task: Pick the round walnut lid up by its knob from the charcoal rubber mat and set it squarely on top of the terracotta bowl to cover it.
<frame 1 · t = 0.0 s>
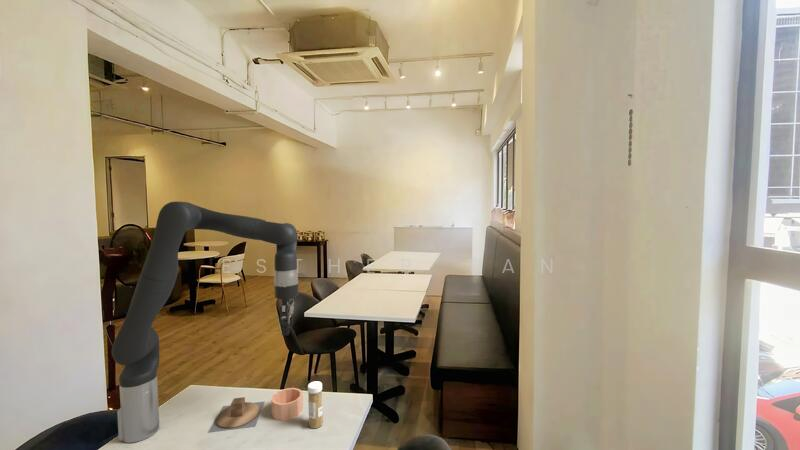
hand: (287, 330, 110), 29 cm above the table, tool pointing down, fingers open, 8 cm apart
sprinkles bottle: (315, 425, 106), on the table
charcoal mat: (238, 417, 110), on the table
walnut lid: (238, 415, 110), point 1 cm above the table, touching charcoal mat
terracotta bowl: (287, 412, 113), on the table
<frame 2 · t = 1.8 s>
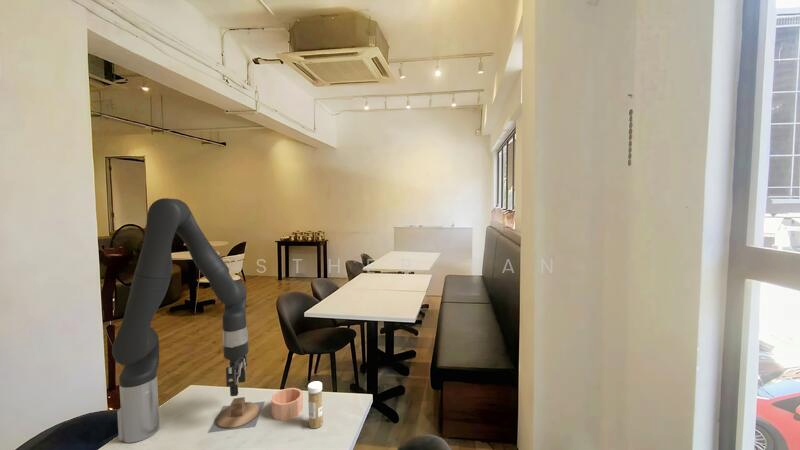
hand: (238, 388, 110), 10 cm above the table, tool pointing down, fingers open, 8 cm apart
nothing on the table moved.
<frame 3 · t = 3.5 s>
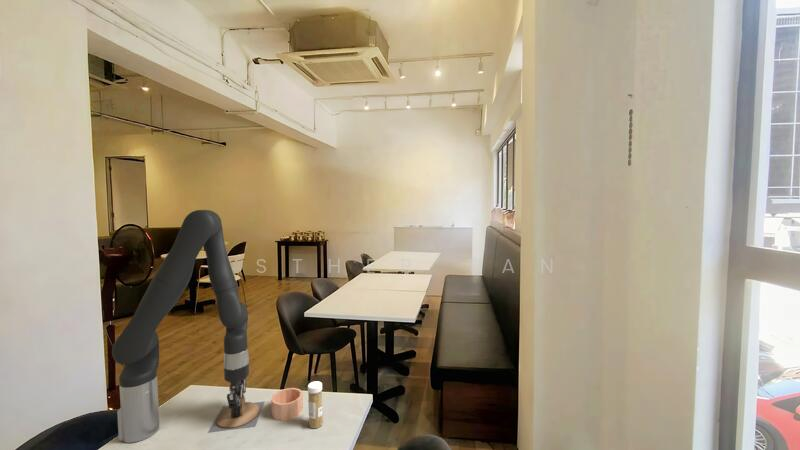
hand: (238, 412, 110), 2 cm above the table, tool pointing down, fingers closed on walnut lid, 3 cm apart
walnut lid: (238, 415, 110), point 1 cm above the table, touching charcoal mat, gripper
everything else where it was.
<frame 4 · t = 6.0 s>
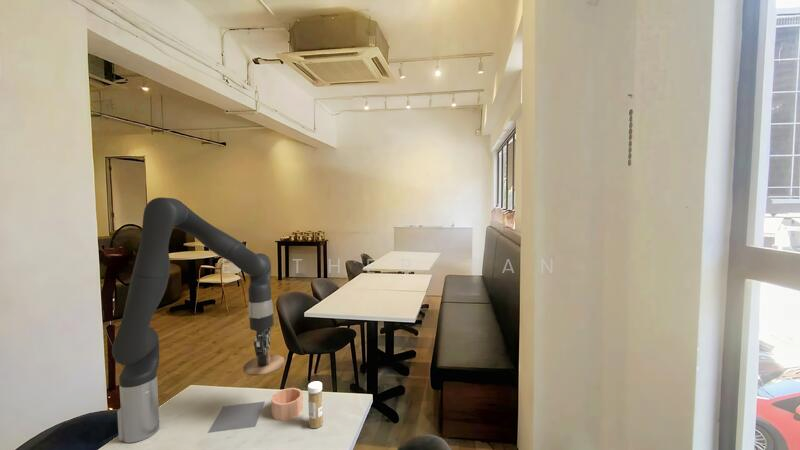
hand: (264, 362, 111), 18 cm above the table, tool pointing down, fingers closed on walnut lid, 3 cm apart
walnut lid: (264, 365, 111), point 17 cm above the table, touching gripper
everything else where it was.
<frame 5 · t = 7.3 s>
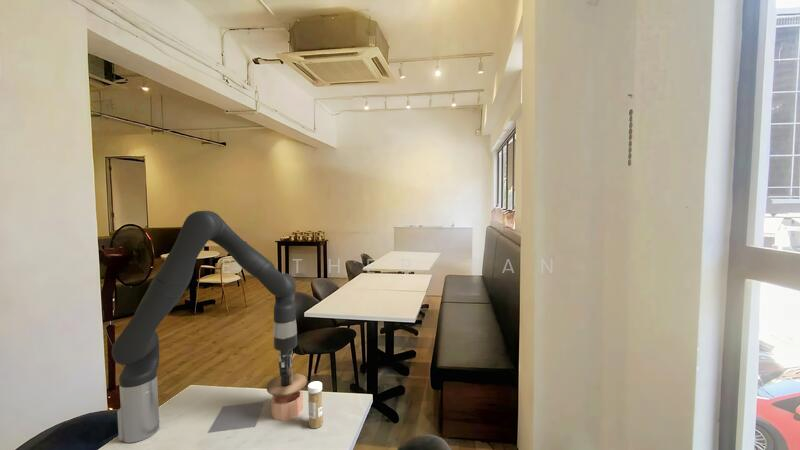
hand: (286, 382, 112), 11 cm above the table, tool pointing down, fingers closed on walnut lid, 3 cm apart
walnut lid: (287, 385, 113), point 10 cm above the table, touching gripper
everything else where it was.
when the fingers open (8 cm above the table, at t = 8.4 s): walnut lid drops 1 cm, point 6 cm above the table.
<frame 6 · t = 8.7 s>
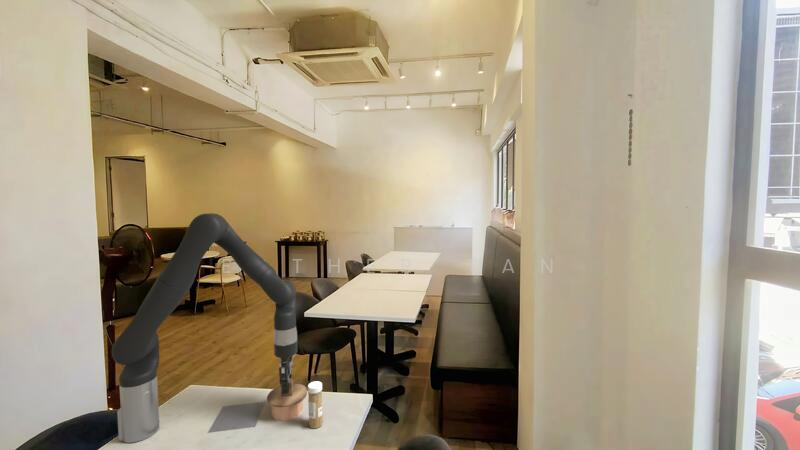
hand: (287, 387, 113), 9 cm above the table, tool pointing down, fingers open, 6 cm apart
walnut lid: (287, 395, 113), point 6 cm above the table
everything else where it was.
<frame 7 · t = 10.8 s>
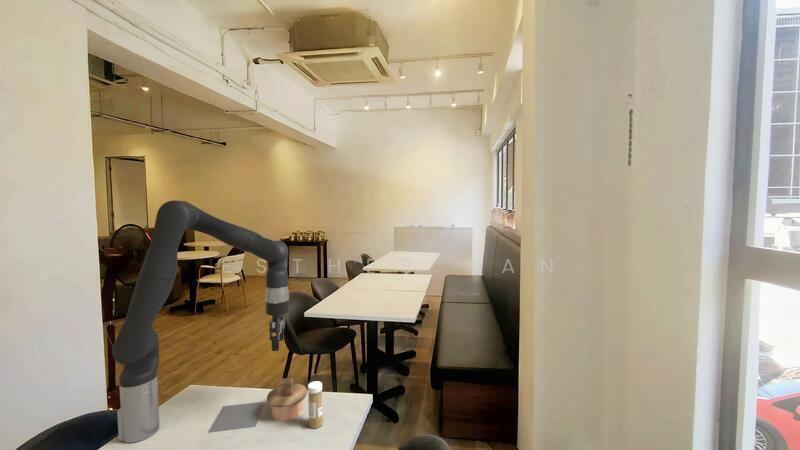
hand: (277, 345, 113), 23 cm above the table, tool pointing down, fingers open, 8 cm apart
walnut lid: (287, 395, 113), point 6 cm above the table, touching terracotta bowl
terracotta bowl: (287, 412, 113), on the table, touching walnut lid
everything else where it was.
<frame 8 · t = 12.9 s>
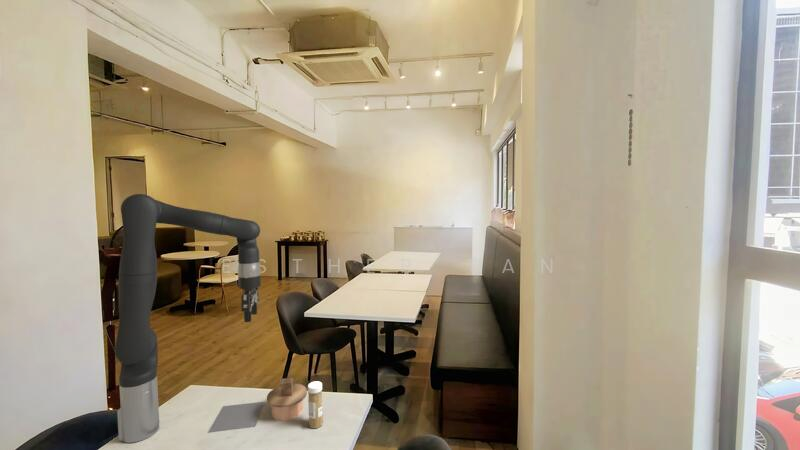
hand: (251, 317, 121), 30 cm above the table, tool pointing down, fingers open, 8 cm apart
nothing on the table moved.
at the end: walnut lid 0.1 cm from the terracotta bowl (horizontally); walnut lid point 5.9 cm above the table; walnut lid tilted 0° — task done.
